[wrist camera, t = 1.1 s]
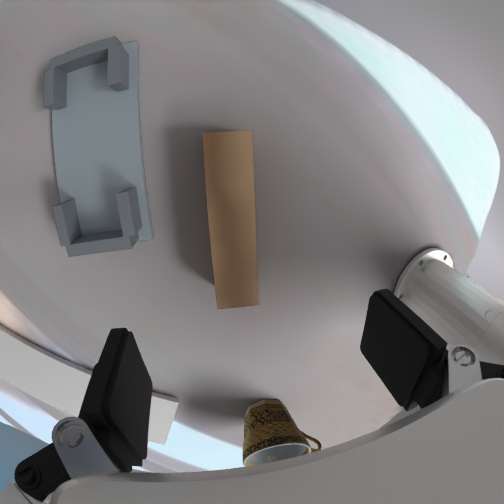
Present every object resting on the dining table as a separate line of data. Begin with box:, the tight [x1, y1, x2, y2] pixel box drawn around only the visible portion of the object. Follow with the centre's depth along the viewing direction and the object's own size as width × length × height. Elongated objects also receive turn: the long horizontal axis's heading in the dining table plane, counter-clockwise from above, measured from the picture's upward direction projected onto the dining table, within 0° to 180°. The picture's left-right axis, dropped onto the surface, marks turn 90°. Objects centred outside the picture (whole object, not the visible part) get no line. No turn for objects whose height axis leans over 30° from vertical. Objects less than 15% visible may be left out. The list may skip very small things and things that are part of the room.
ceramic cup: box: [243, 399, 321, 467], centre depth 36 cm, size 13×10×10 cm
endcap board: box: [43, 36, 154, 257], centre depth 21 cm, size 10×21×4 cm, turn 3°
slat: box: [202, 130, 259, 309], centre depth 26 cm, size 4×16×5 cm, turn 2°
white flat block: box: [0, 325, 178, 445], centre depth 32 cm, size 34×5×10 cm
